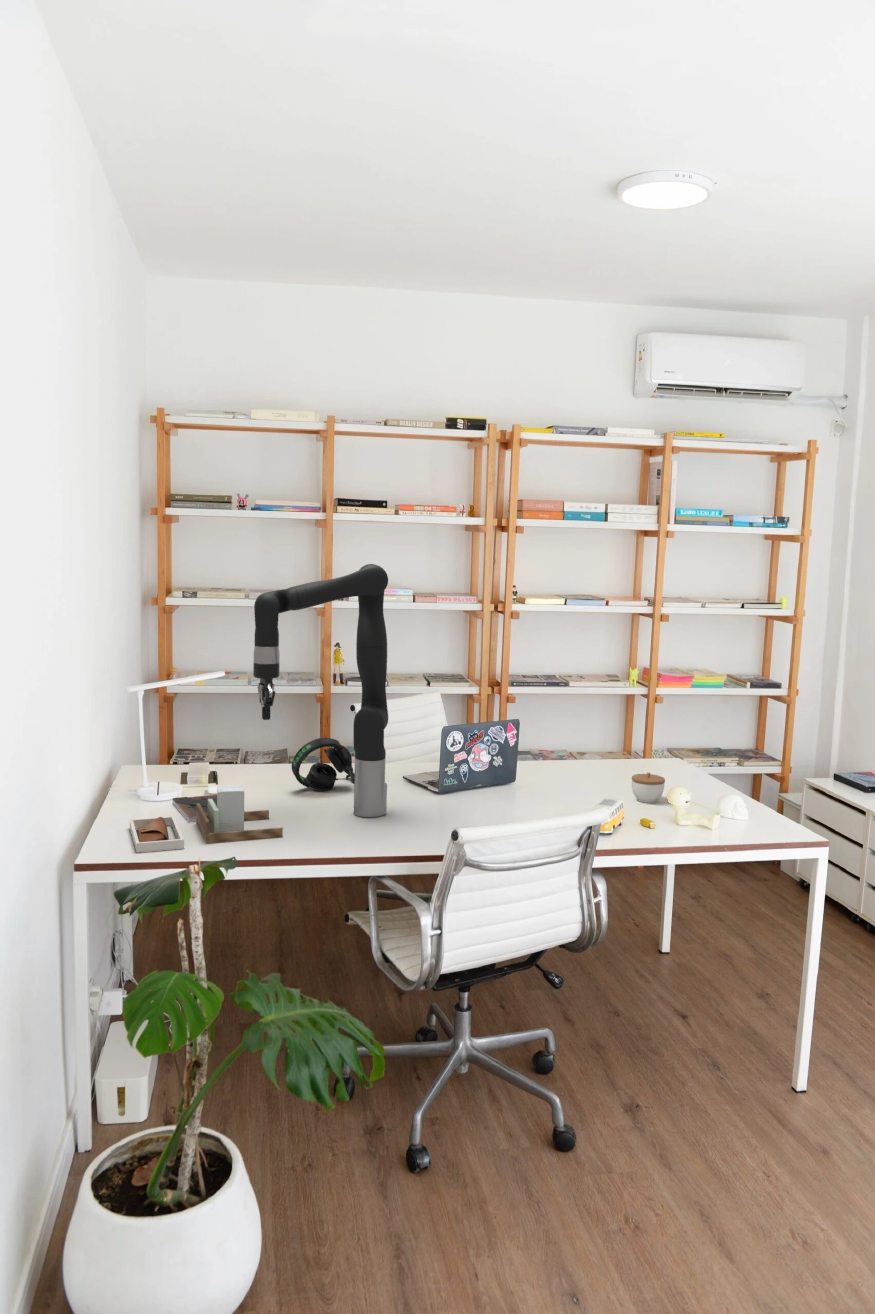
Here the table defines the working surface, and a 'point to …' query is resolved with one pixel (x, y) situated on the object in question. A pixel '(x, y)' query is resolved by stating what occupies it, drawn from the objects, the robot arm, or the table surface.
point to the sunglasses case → (153, 831)
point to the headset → (323, 764)
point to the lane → (236, 835)
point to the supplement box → (230, 808)
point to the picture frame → (193, 805)
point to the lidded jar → (647, 787)
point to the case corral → (156, 845)
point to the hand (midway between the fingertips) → (266, 719)
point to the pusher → (213, 816)
